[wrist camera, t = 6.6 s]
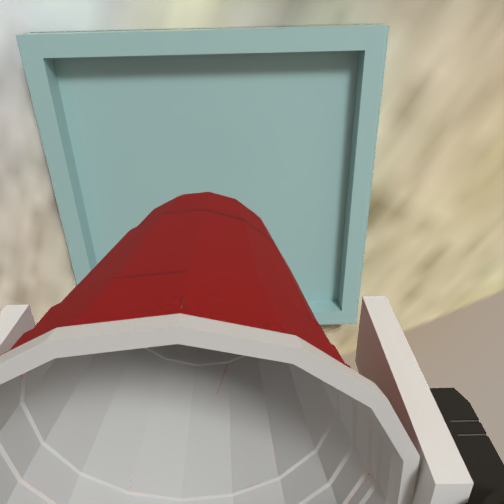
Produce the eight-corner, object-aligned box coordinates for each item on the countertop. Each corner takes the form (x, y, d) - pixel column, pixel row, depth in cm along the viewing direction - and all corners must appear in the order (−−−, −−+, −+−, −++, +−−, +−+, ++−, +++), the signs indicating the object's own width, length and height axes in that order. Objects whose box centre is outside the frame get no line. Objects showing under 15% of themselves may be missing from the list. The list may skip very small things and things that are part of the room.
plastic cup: (201, 383, 24) (167, 685, 13) (31, 241, 20) (-211, 518, 9) (380, 268, 21) (520, 548, 10) (221, 70, 17) (181, 196, 6)
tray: (96, 313, 31) (88, 330, 29) (31, 32, 22) (15, 35, 21) (350, 306, 31) (356, 323, 29) (379, 23, 23) (389, 26, 21)
